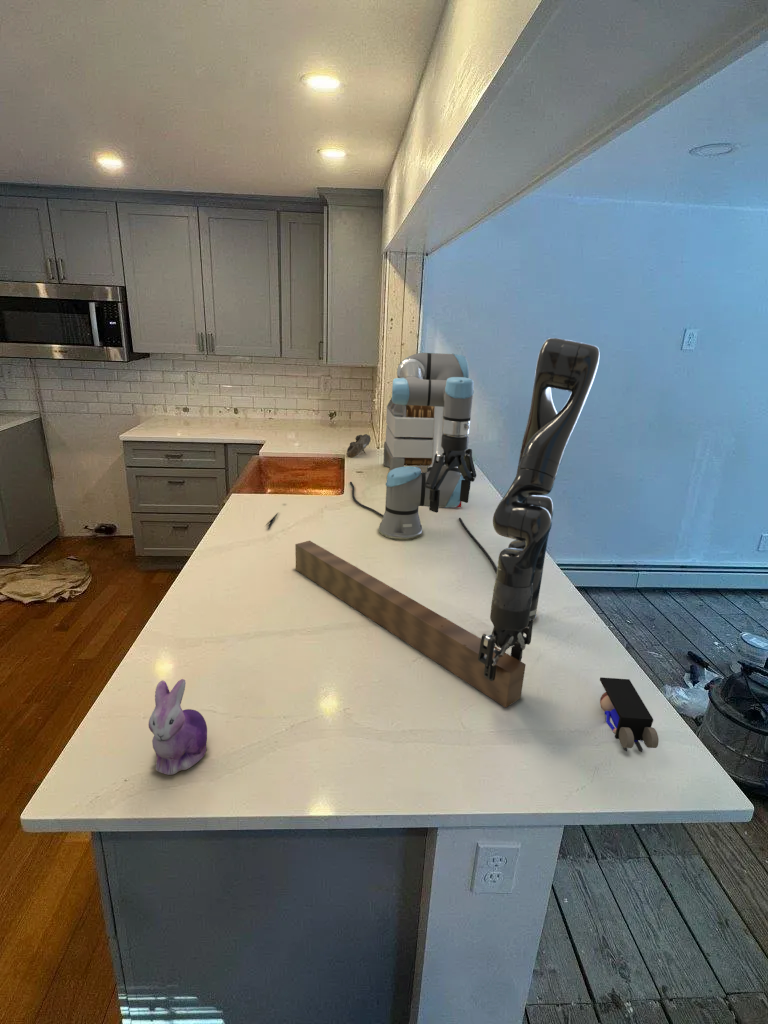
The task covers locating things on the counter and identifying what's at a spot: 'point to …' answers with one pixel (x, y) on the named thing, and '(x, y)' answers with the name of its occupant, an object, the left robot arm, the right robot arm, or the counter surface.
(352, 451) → the fossil
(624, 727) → the figurine character
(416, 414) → the transformer
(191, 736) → the figurine
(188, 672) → the counter surface
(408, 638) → the beam
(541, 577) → the right robot arm
